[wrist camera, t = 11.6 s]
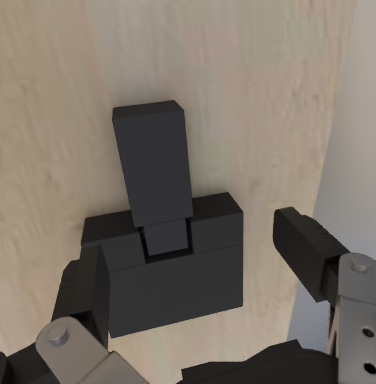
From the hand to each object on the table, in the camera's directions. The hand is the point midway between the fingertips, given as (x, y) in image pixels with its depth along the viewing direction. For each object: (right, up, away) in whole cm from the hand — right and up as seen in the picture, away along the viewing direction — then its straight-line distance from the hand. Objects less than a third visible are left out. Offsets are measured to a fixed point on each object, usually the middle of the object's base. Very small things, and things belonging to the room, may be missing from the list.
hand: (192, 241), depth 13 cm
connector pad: (-3, +4, +13) cm, 14 cm away
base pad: (-2, -4, +18) cm, 18 cm away
